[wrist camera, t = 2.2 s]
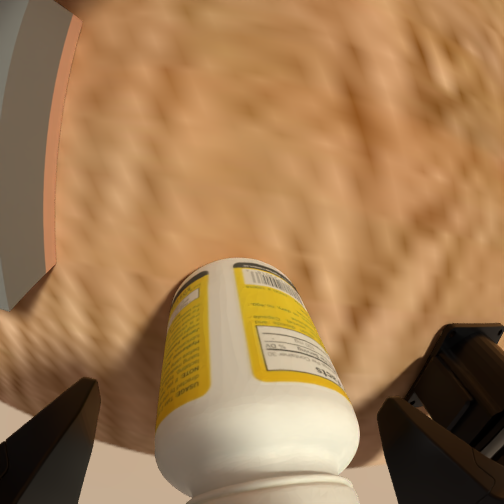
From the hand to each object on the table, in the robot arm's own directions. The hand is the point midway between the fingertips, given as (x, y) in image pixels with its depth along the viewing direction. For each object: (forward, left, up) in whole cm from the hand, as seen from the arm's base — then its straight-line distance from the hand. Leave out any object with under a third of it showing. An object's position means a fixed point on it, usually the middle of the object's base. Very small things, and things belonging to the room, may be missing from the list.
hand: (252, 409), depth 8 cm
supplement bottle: (0, 0, -6) cm, 6 cm away
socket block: (+13, -6, -5) cm, 15 cm away
